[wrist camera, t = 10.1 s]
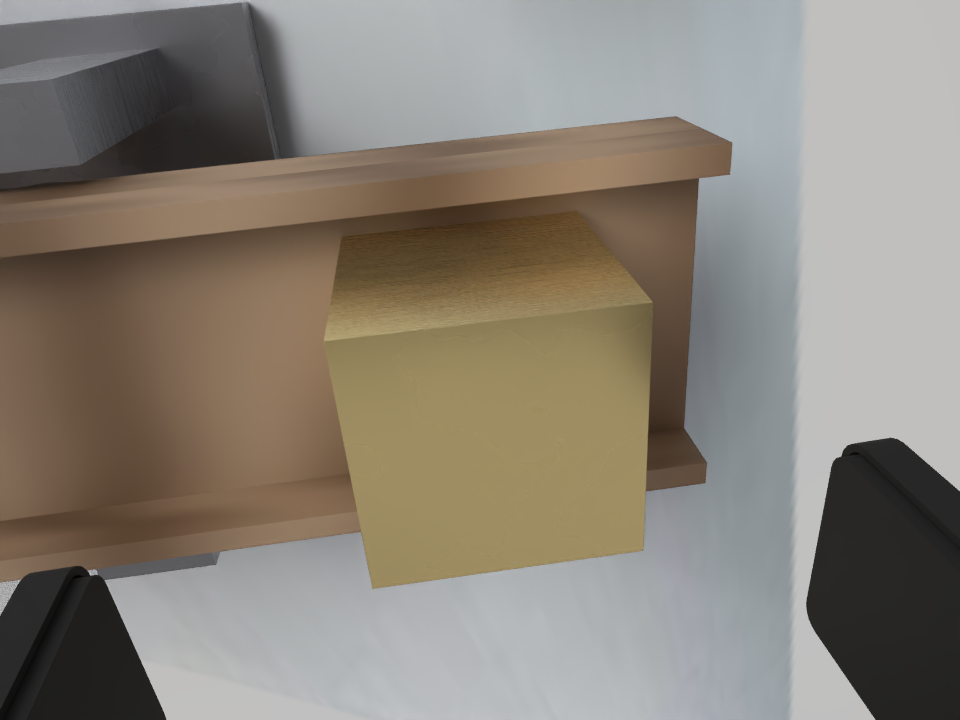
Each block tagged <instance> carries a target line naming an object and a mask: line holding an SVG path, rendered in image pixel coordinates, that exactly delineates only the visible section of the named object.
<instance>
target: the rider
mask: <svg viewBox="0 0 960 720" xmlns="http://www.w3.org/2000/svg"><path fill="white" fill-rule="evenodd" d="M652 320H653V302H652V300H651V299H650V298H649V297H648V296H647V294H646V293H645V292H644V291H643V290H642V288H641V287H640V286H639V285H638V284H637V282H636V281H635V280H634V279H633V278H632V276H631V275H630V274H629V273H628V272H627V270H626V269H625V268H624V267H623V266H622V264H621V263H620V262H619V261H618V260H617V258H616V257H615V256H614V255H613V254H612V252H611V251H610V250H609V249H608V248H607V246H606V245H605V244H604V243H603V242H602V240H601V239H600V238H599V237H598V236H597V234H596V233H595V232H594V231H593V229H592V228H591V227H590V226H589V225H588V223H587V222H586V221H585V220H584V219H583V217H582V216H581V215H580V214H579V213H578V211H571V212H562V213H552V214H543V215H534V216H525V217H516V218H506V219H497V220H488V221H479V222H470V223H460V224H451V225H442V226H433V227H424V228H415V229H405V230H396V231H387V232H378V233H369V234H359V235H350V236H341V242H340V248H339V254H338V260H337V266H336V271H335V277H334V283H333V289H332V295H331V301H330V306H329V312H328V318H327V324H326V330H325V336H324V341H323V342H324V347H325V352H326V357H327V362H328V367H329V372H330V377H331V382H332V387H333V392H334V397H335V402H336V407H337V412H338V417H339V422H340V427H341V432H342V437H343V442H344V447H345V452H346V457H347V462H348V467H349V472H350V477H351V483H352V488H353V493H354V498H355V503H356V508H357V513H358V518H359V523H360V528H361V533H362V538H363V543H364V548H365V553H366V558H367V563H368V568H369V573H370V578H371V583H372V588H373V589H375V588H382V587H389V586H396V585H403V584H410V583H417V582H424V581H431V580H439V579H446V578H453V577H460V576H467V575H474V574H481V573H488V572H495V571H502V570H509V569H516V568H523V567H530V566H538V565H545V564H552V563H559V562H566V561H573V560H580V559H587V558H594V557H601V556H608V555H615V554H622V553H630V552H637V551H643V546H644V521H645V496H646V470H647V445H648V420H649V395H650V370H651V345H652Z"/></svg>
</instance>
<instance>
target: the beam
mask: <svg viewBox="0 0 960 720" xmlns="http://www.w3.org/2000/svg"><path fill="white" fill-rule="evenodd" d="M731 154H732V142H730V141H728V140H726V139H723V138H721V137H719V136H717V135H715V134H713V133H711V132H708V131H706V130H704V129H702V128H700V127H698V126H696V125H693V124H691V123H689V122H687V121H685V120H683V119H681V118H678V117H676V116H675V117H666V118H656V119H647V120H638V121H629V122H619V123H610V124H601V125H592V126H582V127H573V128H564V129H555V130H545V131H536V132H527V133H518V134H508V135H499V136H490V137H481V138H471V139H462V140H453V141H444V142H434V143H425V144H416V145H407V146H397V147H388V148H379V149H370V150H360V151H351V152H342V153H333V154H323V155H314V156H305V157H296V158H286V159H277V160H268V161H258V162H249V163H240V164H231V165H221V166H212V167H203V168H194V169H184V170H175V171H166V172H157V173H147V174H138V175H129V176H120V177H110V178H101V179H92V180H83V181H73V182H48V183H40V184H35V185H29V186H25V187H18V188H9V189H0V582H7V581H14V580H21V579H22V578H23V577H24V576H26V575H27V574H29V573H33V572H40V571H46V570H53V569H59V568H65V567H72V566H82V567H83V568H85V569H86V570H92V569H99V568H106V567H113V566H120V565H127V564H135V563H142V562H149V561H156V560H163V559H170V558H177V557H184V556H191V555H198V554H205V553H213V552H220V551H227V550H234V549H241V548H248V547H255V546H262V545H269V544H276V543H283V542H291V541H298V540H305V539H312V538H319V537H326V536H333V535H340V534H347V533H354V532H361V528H360V523H359V518H358V513H357V508H356V503H355V498H354V493H353V488H352V483H351V477H350V472H349V467H348V462H347V457H346V452H345V447H344V442H343V437H342V432H341V427H340V422H339V417H338V412H337V407H336V402H335V397H334V392H333V387H332V382H331V377H330V372H329V367H328V362H327V357H326V352H325V347H324V342H323V341H324V336H325V330H326V324H327V318H328V312H329V306H330V301H331V295H332V289H333V283H334V277H335V271H336V266H337V260H338V254H339V248H340V242H341V236H350V235H359V234H369V233H378V232H387V231H396V230H405V229H415V228H424V227H433V226H442V225H451V224H460V223H470V222H479V221H488V220H497V219H506V218H516V217H525V216H534V215H543V214H552V213H562V212H571V211H578V213H579V214H580V215H581V216H582V217H583V219H584V220H585V221H586V222H587V223H588V225H589V226H590V227H591V228H592V229H593V231H594V232H595V233H596V234H597V236H598V237H599V238H600V239H601V240H602V242H603V243H604V244H605V245H606V246H607V248H608V249H609V250H610V251H611V252H612V254H613V255H614V256H615V257H616V258H617V260H618V261H619V262H620V263H621V264H622V266H623V267H624V268H625V269H626V270H627V272H628V273H629V274H630V275H631V276H632V278H633V279H634V280H635V281H636V282H637V284H638V285H639V286H640V287H641V288H642V290H643V291H644V292H645V293H646V294H647V296H648V297H649V298H650V299H651V300H652V302H653V320H652V345H651V370H650V395H649V420H648V445H647V470H646V491H652V490H659V489H666V488H673V487H681V486H688V485H695V484H702V483H705V480H706V467H707V462H706V461H705V459H704V458H703V456H702V455H701V453H700V452H699V450H698V449H697V447H696V446H695V444H694V443H693V441H692V440H691V438H690V437H689V435H688V434H687V432H686V431H685V429H684V417H685V400H686V383H687V367H688V350H689V333H690V317H691V300H692V283H693V266H694V250H695V233H696V216H697V200H698V183H699V178H705V177H713V176H722V175H730V167H731Z"/></svg>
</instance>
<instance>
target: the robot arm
mask: <svg viewBox="0 0 960 720" xmlns="http://www.w3.org/2000/svg"><path fill="white" fill-rule="evenodd" d="M806 607H807V614H808V617H809V620H810V623H811V625H812V627H813V629H814V630H815V632H816V634H817V635H818V637H819V638H820V640H821V641H822V642H823V644H824V645H825V647H826V648H827V650H828V651H829V653H830V654H831V656H832V657H833V659H834V660H835V661H836V663H837V664H838V666H839V667H840V669H841V670H842V672H843V673H844V674H845V676H846V677H847V679H848V680H849V682H850V683H851V685H852V686H853V687H854V689H855V690H856V692H857V693H858V695H859V696H860V698H861V699H862V701H863V702H864V704H865V705H866V706H867V708H868V709H869V711H870V712H871V714H872V715H873V717H874V718H875V720H960V491H958V490H957V489H956V488H955V487H954V486H953V485H952V484H950V483H949V482H948V481H947V480H946V479H945V478H944V477H942V476H941V475H940V474H939V473H938V472H937V471H935V470H934V469H933V468H932V467H931V466H930V465H928V464H927V463H926V462H925V461H924V460H923V459H922V458H920V457H919V456H918V455H917V454H916V453H915V452H914V451H912V450H911V449H910V448H909V447H908V446H906V445H905V444H904V443H903V442H901V441H900V440H898V439H894V438H887V439H880V440H874V441H868V442H861V443H855V444H851V445H848V446H847V447H846V448H845V449H844V450H843V453H842V456H841V457H839V458H836V459H835V460H834V462H833V464H832V467H831V472H830V478H829V483H828V488H827V494H826V499H825V505H824V510H823V516H822V521H821V526H820V531H819V537H818V542H817V547H816V553H815V559H814V564H813V569H812V574H811V580H810V586H809V591H808V596H807V602H806ZM0 720H166V717H165V714H164V712H163V710H162V707H161V705H160V703H159V701H158V699H157V696H156V694H155V692H154V689H153V687H152V685H151V683H150V680H149V678H148V677H147V674H146V672H145V669H144V667H143V665H142V663H141V660H140V658H139V656H138V654H137V652H136V649H135V647H134V645H133V643H132V640H131V638H130V636H129V634H128V632H127V629H126V627H125V625H124V623H123V620H122V618H121V616H120V614H119V612H118V609H117V607H116V605H115V603H114V600H113V598H112V596H111V594H110V592H109V589H108V587H107V585H106V583H105V581H104V579H103V578H102V577H101V576H99V575H93V576H90V575H89V573H88V571H87V570H86V569H85V568H83V567H82V566H72V567H65V568H59V569H53V570H46V571H40V572H33V573H29V574H27V575H26V576H24V577H23V578H22V580H21V581H20V582H19V584H18V585H17V587H16V589H15V591H14V593H13V594H12V596H11V598H10V600H9V601H8V603H7V605H6V607H5V608H4V610H3V612H2V614H1V616H0Z"/></svg>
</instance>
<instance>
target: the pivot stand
mask: <svg viewBox="0 0 960 720" xmlns="http://www.w3.org/2000/svg"><path fill="white" fill-rule="evenodd" d="M277 159H281V158H280V153H279V148H278V144H277V139H276V134H275V129H274V124H273V120H272V115H271V110H270V105H269V101H268V96H267V91H266V86H265V81H264V77H263V72H262V67H261V62H260V58H259V53H258V48H257V43H256V38H255V34H254V29H253V24H252V19H251V15H250V10H249V5H248V2H242V3H232V4H221V5H210V6H200V7H189V8H179V9H168V10H157V11H147V12H136V13H126V14H115V15H104V16H94V17H83V18H73V19H62V20H51V21H41V22H30V23H19V24H9V25H0V189H9V188H18V187H25V186H29V185H35V184H40V183H48V182H73V181H83V180H92V179H101V178H110V177H120V176H129V175H138V174H147V173H157V172H166V171H175V170H184V169H194V168H203V167H212V166H221V165H231V164H240V163H249V162H258V161H268V160H277ZM219 553H220V552H213V553H205V554H198V555H191V556H184V557H177V558H170V559H163V560H156V561H149V562H142V563H135V564H127V565H120V566H113V567H106V568H99V569H96V570H97V572H98V575H99V576H101V577H102V578H103V579H104V580H109V579H116V578H123V577H130V576H137V575H144V574H152V573H159V572H166V571H173V570H180V569H188V568H195V567H202V566H209V565H216V563H217V560H218V556H219Z"/></svg>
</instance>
